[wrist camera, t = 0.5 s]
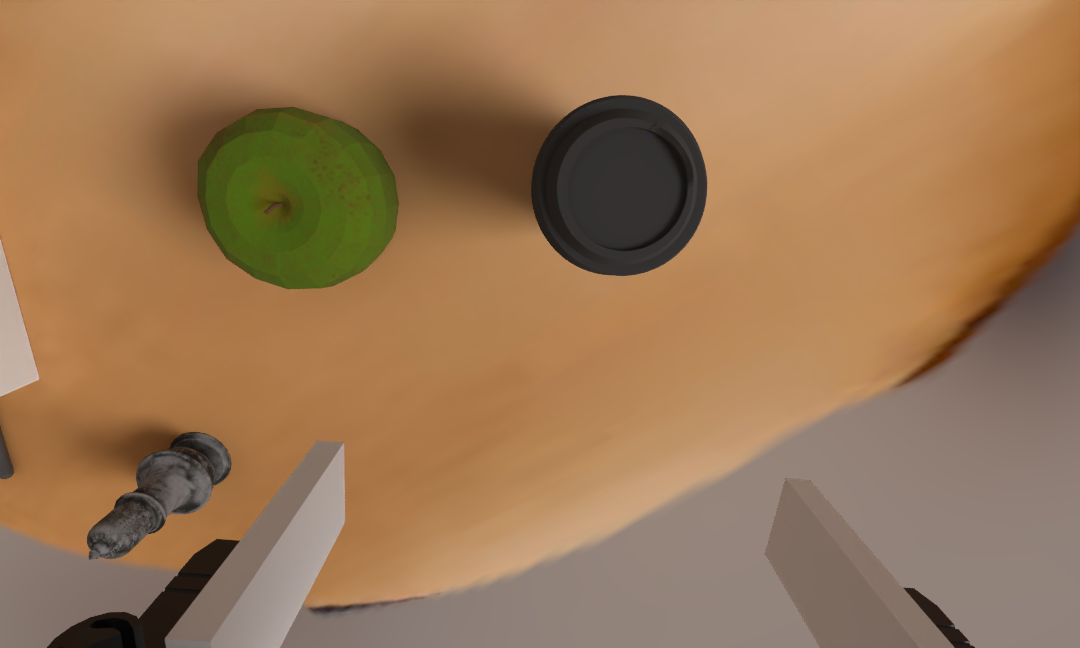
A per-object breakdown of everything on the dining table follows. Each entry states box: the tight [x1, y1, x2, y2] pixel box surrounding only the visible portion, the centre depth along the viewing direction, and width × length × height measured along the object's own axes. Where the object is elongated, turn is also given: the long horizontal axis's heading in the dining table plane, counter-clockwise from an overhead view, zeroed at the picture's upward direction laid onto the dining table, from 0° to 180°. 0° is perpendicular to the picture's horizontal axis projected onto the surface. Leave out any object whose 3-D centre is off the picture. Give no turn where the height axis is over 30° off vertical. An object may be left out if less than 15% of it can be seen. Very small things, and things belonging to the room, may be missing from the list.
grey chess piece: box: [87, 432, 231, 560], centre depth 40 cm, size 6×6×12 cm
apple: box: [198, 107, 399, 289], centre depth 34 cm, size 11×11×11 cm
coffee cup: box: [531, 95, 707, 276], centre depth 32 cm, size 9×9×15 cm
